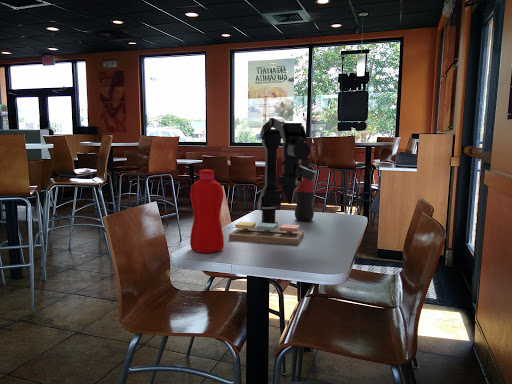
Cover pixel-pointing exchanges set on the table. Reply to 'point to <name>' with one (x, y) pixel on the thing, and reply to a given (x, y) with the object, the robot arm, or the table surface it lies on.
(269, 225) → the tile teal
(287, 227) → the tile brick
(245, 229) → the tile mustard
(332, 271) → the table surface
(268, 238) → the button board
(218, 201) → the red plastic bottle
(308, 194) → the cola bottle
